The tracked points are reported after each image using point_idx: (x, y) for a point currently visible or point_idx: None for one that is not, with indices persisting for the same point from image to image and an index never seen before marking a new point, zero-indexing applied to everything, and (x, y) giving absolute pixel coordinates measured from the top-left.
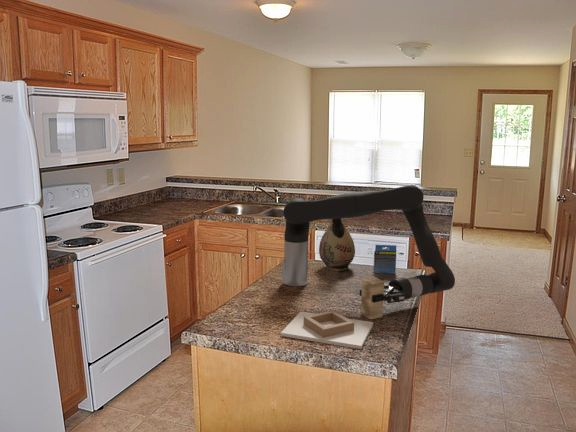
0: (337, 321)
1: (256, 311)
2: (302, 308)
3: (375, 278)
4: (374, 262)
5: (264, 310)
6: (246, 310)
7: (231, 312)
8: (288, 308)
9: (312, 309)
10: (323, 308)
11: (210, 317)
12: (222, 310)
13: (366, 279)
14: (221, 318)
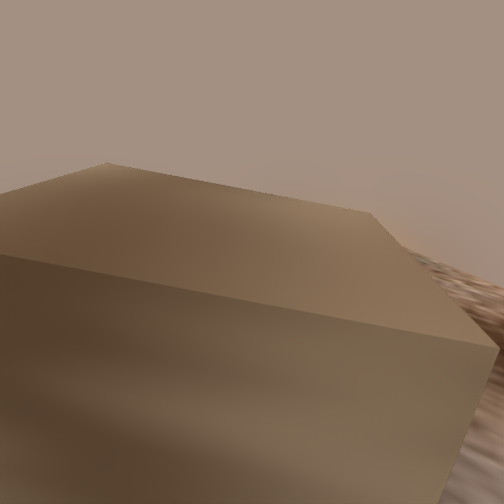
0: None
1: (467, 309)
2: (492, 403)
3: (330, 288)
4: None
5: (475, 322)
6: (480, 302)
7: (465, 284)
8: (495, 370)
9: (470, 424)
10: (485, 478)
11: (433, 260)
12: (484, 283)
13: (342, 221)
14: (421, 264)
